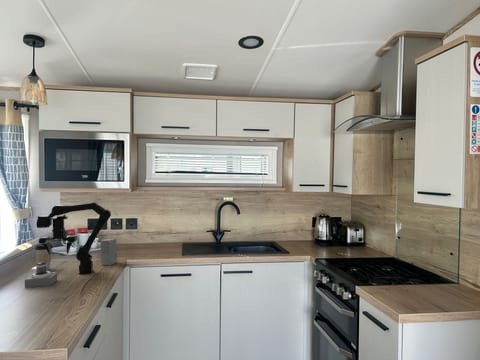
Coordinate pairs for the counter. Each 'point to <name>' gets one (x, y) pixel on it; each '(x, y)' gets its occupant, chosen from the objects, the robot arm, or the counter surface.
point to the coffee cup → (43, 255)
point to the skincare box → (108, 251)
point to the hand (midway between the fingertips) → (58, 254)
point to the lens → (41, 268)
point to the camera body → (41, 279)
